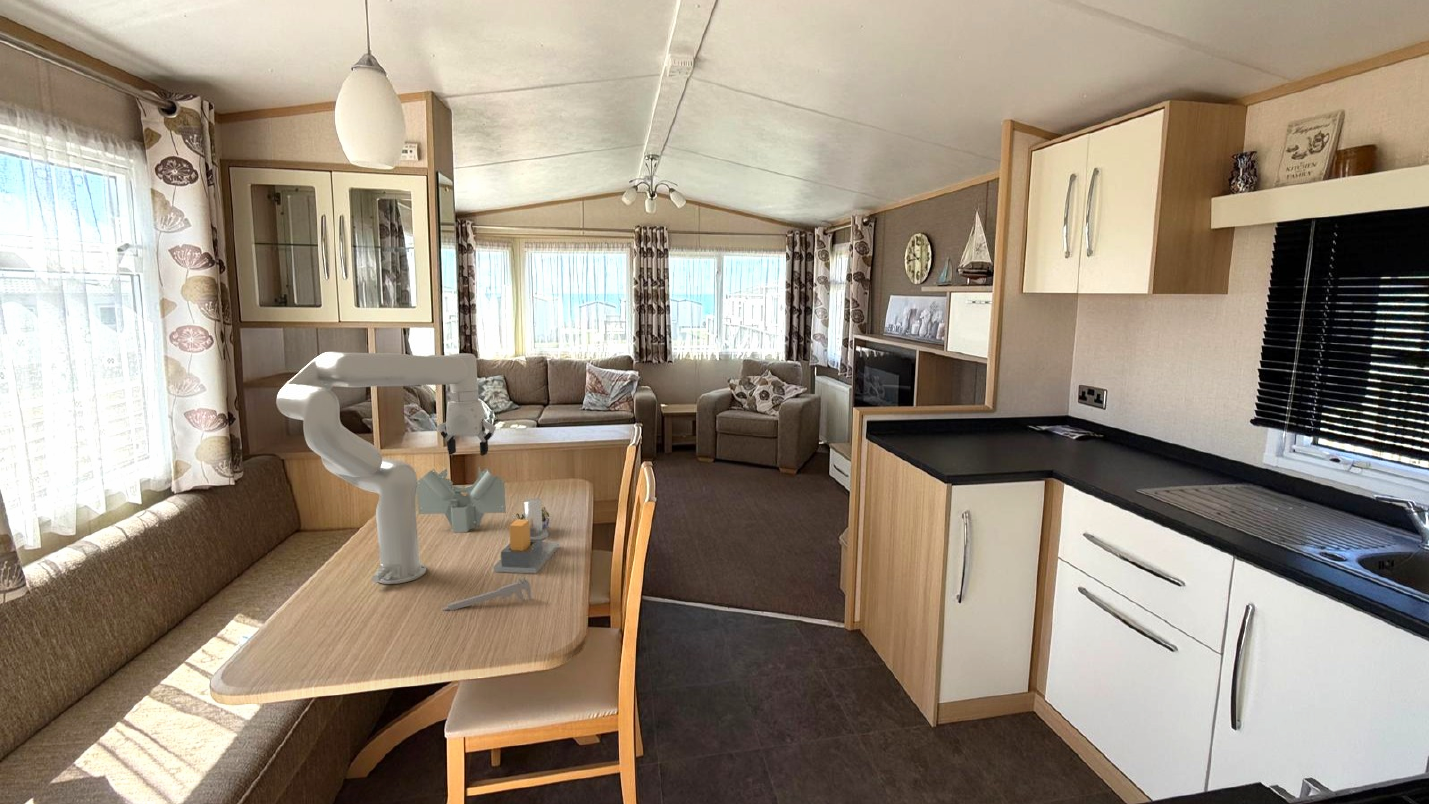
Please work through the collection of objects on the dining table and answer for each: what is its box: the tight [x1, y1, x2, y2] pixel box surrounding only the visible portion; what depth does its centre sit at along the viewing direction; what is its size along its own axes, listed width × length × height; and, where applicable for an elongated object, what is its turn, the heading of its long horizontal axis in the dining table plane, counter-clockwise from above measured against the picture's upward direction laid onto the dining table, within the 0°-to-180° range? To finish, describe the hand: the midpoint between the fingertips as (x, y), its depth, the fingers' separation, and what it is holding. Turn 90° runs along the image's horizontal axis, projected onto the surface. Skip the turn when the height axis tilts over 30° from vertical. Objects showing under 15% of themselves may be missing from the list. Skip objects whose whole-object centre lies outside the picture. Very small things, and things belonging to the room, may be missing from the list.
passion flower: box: [515, 506, 550, 531], centre depth 211 cm, size 11×11×12 cm
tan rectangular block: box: [509, 518, 530, 551], centre depth 186 cm, size 5×4×11 cm
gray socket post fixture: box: [493, 497, 560, 575], centre depth 190 cm, size 19×12×16 cm, turn 174°
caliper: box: [442, 576, 532, 612], centre depth 163 cm, size 20×1×6 cm, turn 107°
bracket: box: [416, 467, 507, 533], centre depth 214 cm, size 28×7×20 cm, turn 93°
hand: (468, 454), depth 197 cm, fingers open, 9 cm apart
